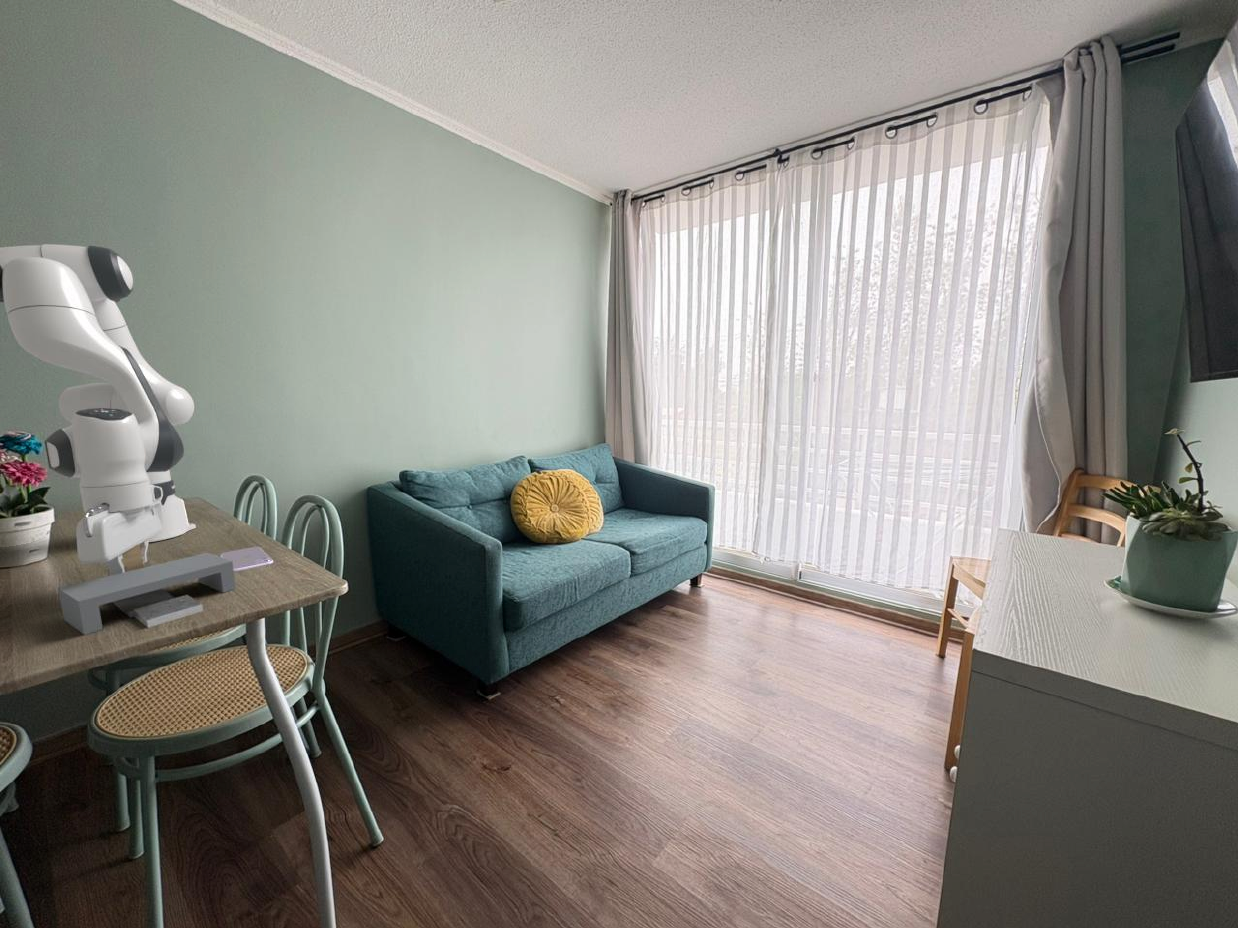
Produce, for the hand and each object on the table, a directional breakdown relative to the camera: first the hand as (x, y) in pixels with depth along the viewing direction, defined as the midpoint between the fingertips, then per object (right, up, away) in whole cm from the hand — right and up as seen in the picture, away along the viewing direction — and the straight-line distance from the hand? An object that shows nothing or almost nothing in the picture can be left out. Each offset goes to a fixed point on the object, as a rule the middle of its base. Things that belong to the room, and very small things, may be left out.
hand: (129, 570), depth 90 cm
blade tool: (+5, -5, -3) cm, 7 cm away
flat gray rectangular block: (+15, -6, -8) cm, 18 cm away
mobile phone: (+8, -2, +18) cm, 20 cm away
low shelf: (+9, -5, -4) cm, 11 cm away
